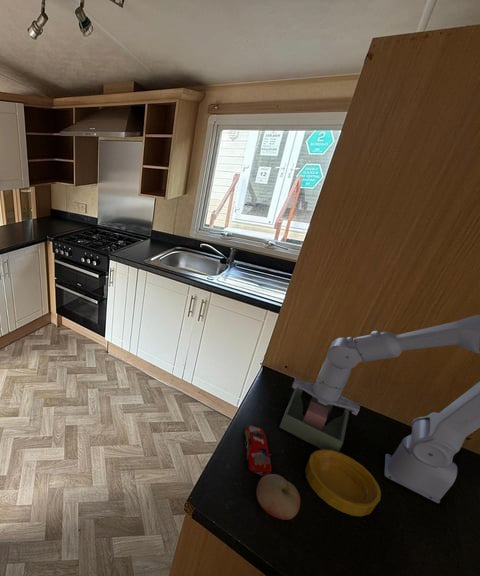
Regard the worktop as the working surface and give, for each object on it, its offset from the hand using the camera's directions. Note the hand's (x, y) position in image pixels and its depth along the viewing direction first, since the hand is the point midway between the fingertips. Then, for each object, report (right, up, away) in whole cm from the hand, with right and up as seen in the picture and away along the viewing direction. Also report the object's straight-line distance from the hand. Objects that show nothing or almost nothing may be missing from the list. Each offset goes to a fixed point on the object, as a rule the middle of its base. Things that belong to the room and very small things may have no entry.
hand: (314, 418), depth 86 cm
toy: (0, -1, 0) cm, 1 cm away
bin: (0, -3, +1) cm, 3 cm away
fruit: (-21, -13, -17) cm, 30 cm away
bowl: (-4, -10, -13) cm, 17 cm away
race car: (-19, -7, -6) cm, 21 cm away
